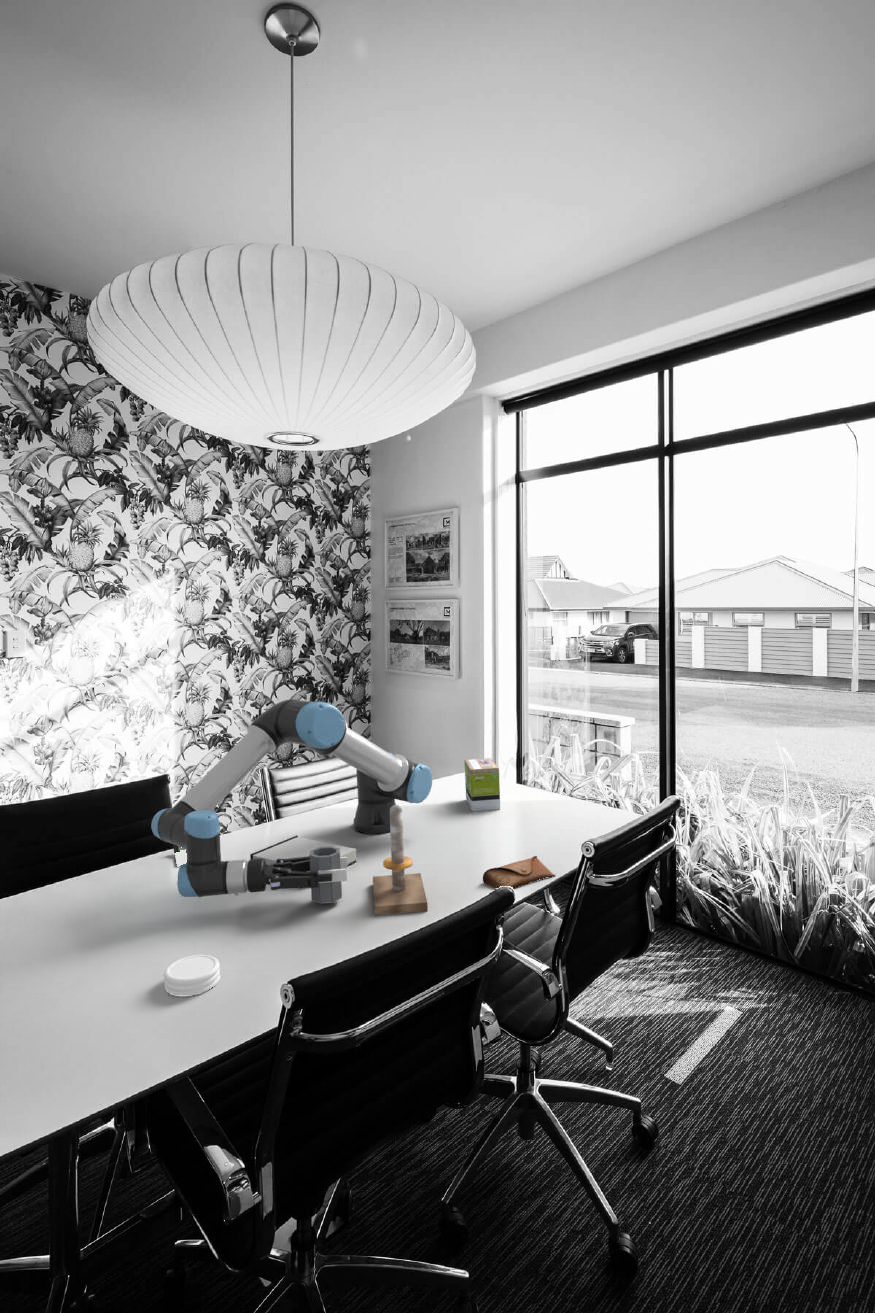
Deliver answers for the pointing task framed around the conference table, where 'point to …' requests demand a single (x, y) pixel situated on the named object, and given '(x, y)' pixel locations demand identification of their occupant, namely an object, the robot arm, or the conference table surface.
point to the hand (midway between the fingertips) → (346, 868)
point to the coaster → (192, 975)
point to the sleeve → (325, 861)
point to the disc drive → (300, 850)
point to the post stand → (398, 876)
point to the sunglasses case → (516, 873)
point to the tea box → (482, 784)
